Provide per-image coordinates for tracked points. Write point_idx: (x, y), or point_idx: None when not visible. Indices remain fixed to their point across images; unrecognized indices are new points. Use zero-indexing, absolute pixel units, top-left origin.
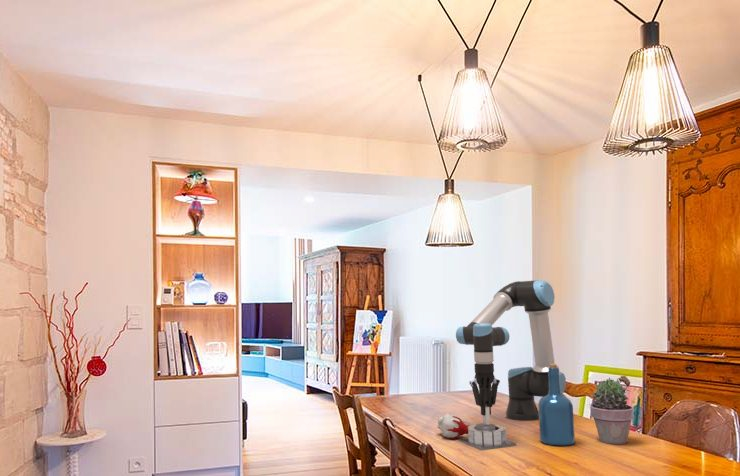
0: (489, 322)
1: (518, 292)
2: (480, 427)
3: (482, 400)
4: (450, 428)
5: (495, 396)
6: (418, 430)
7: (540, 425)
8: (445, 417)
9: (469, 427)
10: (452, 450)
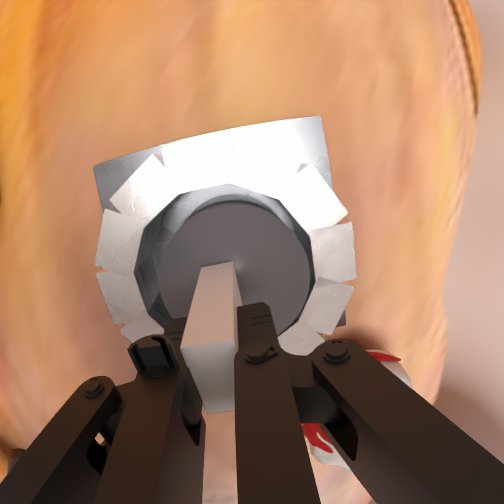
0: None
1: None
2: (295, 236)
3: (299, 421)
4: (390, 364)
5: (35, 453)
6: None
7: None
8: None
9: (332, 314)
10: (432, 166)
